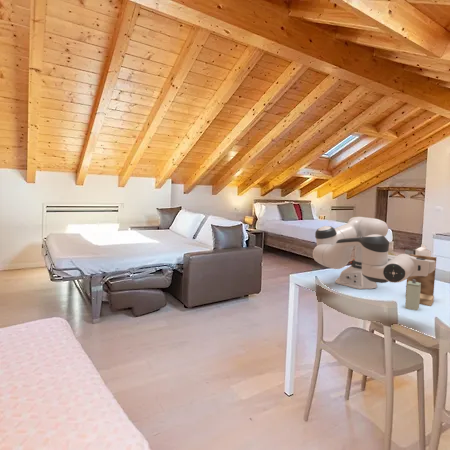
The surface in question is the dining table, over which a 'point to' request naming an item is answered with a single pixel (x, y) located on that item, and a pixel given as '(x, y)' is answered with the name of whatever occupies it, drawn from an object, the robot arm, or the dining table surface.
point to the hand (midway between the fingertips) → (410, 259)
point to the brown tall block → (425, 283)
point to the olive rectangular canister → (413, 295)
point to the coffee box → (410, 251)
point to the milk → (423, 251)
